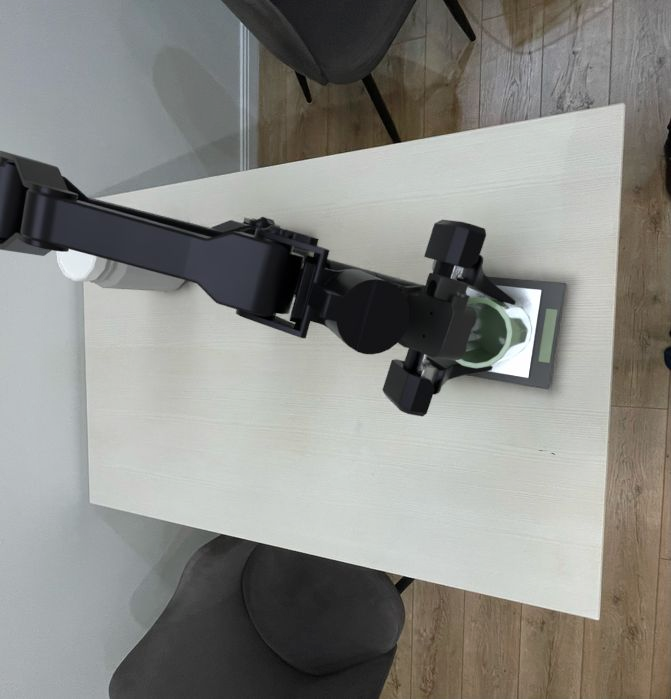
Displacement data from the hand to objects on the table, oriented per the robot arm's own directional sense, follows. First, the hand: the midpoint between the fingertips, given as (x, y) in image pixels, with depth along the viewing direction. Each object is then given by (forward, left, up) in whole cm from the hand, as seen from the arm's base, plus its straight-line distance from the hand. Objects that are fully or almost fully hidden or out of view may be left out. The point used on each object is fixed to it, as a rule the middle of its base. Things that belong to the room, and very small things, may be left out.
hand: (501, 335), depth 56 cm
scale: (-1, 0, -9) cm, 9 cm away
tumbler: (-1, 0, -7) cm, 7 cm away
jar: (-55, +4, -9) cm, 56 cm away
